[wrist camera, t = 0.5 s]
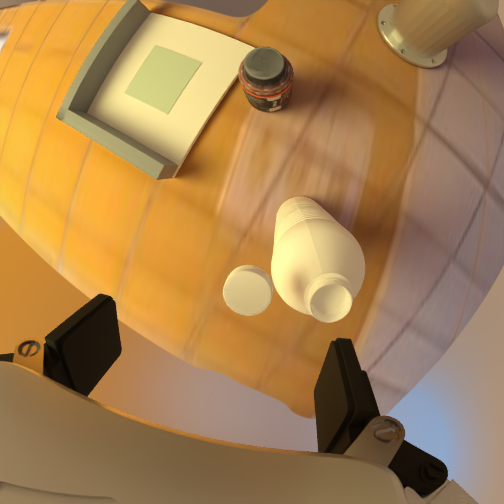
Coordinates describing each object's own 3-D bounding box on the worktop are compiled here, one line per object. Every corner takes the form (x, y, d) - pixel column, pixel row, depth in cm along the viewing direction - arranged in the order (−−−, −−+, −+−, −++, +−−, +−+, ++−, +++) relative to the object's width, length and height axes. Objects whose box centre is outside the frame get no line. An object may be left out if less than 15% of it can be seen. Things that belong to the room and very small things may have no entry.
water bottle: (326, 199, 36) (405, 251, 12) (319, 245, 38) (370, 358, 14) (262, 190, 36) (227, 226, 13) (257, 237, 38) (219, 343, 15)
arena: (145, 13, 29) (129, -2, 24) (257, 51, 31) (252, 32, 25) (78, 120, 36) (55, 117, 30) (174, 177, 37) (156, 179, 31)
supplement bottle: (288, 116, 33) (290, 93, 22) (244, 110, 34) (228, 86, 23) (293, 77, 32) (297, 42, 21) (250, 72, 32) (237, 37, 21)
